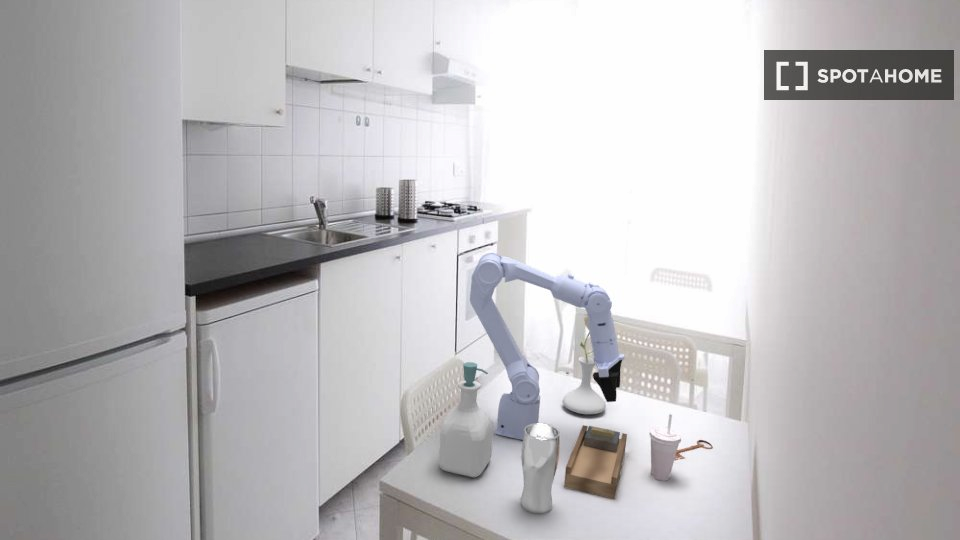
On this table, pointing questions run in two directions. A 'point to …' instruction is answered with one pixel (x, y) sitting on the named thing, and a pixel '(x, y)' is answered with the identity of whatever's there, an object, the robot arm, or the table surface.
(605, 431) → the lever cap
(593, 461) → the wooden tray
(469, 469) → the soap bottle
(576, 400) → the flower in vase
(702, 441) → the key
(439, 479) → the table surface
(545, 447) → the beer glass
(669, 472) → the smoothie
